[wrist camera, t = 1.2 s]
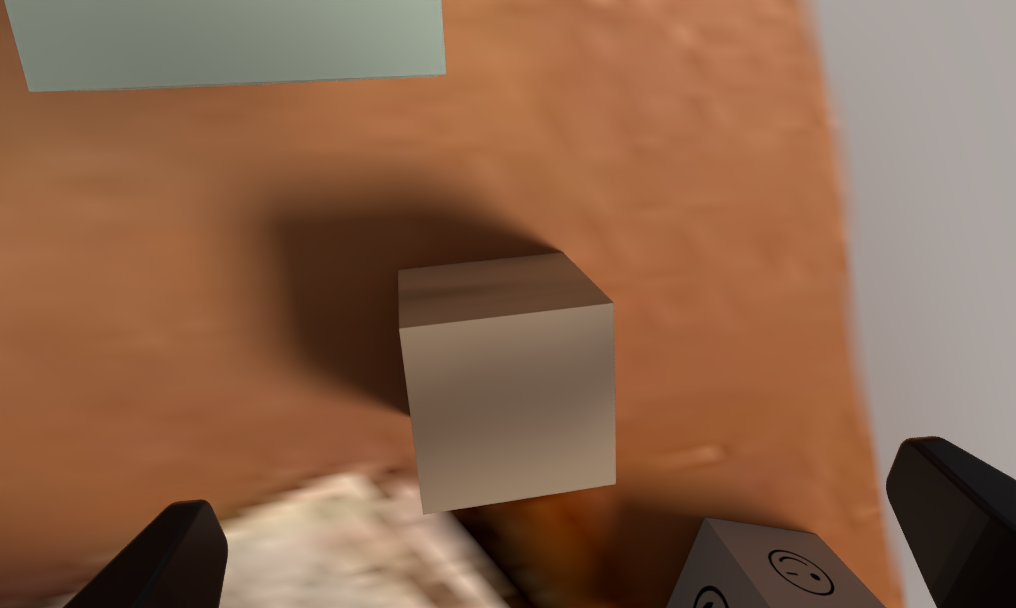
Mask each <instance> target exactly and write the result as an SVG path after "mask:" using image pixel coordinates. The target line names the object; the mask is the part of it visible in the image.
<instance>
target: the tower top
mask: <svg viewBox="0 0 1016 608" xmlns="http://www.w3.org/2000/svg"><path fill="white" fill-rule="evenodd" d="M4 2H5V5H6V9H7V13H8V16H9V20H10V24H11V27H12V31H13V35H14V38H15V42H16V46H17V49H18V53H19V57H20V60H21V64H22V68H23V71H24V75H25V79H26V82H27V86H28V90H29V92H57V91H106V90H144V89H167V88H190V87H213V86H236V85H259V84H282V83H305V82H328V81H351V80H374V79H397V78H420V77H435V76H440V75H444V74H446V65H445V50H444V36H443V21H442V7H441V0H4Z"/></svg>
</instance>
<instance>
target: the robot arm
mask: <svg viewBox="0 0 1016 608" xmlns="http://www.w3.org/2000/svg"><path fill="white" fill-rule="evenodd" d="M886 491H887V495H888V499H889V501H890V504H891V506H892V508H893V510H894V513H895V515H896V517H897V520H898V522H899V524H900V526H901V529H902V531H903V533H904V535H905V538H906V540H907V542H908V544H909V547H910V549H911V551H912V553H913V556H914V558H915V560H916V562H917V565H918V567H919V569H920V572H921V574H922V576H923V578H924V581H925V583H926V585H927V587H928V589H929V592H930V594H931V596H932V598H933V600H934V602H935V604H936V607H937V608H1016V480H1015V479H1013V478H1012V477H1010V476H1008V475H1006V474H1005V473H1003V472H1001V471H999V470H998V469H996V468H994V467H992V466H991V465H989V464H987V463H985V462H984V461H982V460H980V459H978V458H977V457H975V456H973V455H972V454H970V453H968V452H966V451H965V450H963V449H961V448H959V447H958V446H956V445H954V444H952V443H950V442H949V441H947V440H945V439H943V438H940V437H936V436H928V437H917V438H909V439H906V440H905V441H904V442H903V443H901V445H900V447H899V450H898V452H897V455H896V458H895V460H894V462H893V465H892V467H891V470H890V472H889V475H888V477H887V481H886ZM227 558H228V544H227V540H226V537H225V535H224V532H223V530H222V528H221V526H220V524H219V522H218V519H217V517H216V515H215V513H214V511H213V509H212V507H211V505H210V503H208V502H207V501H206V500H189V501H179V502H175V503H172V504H171V505H169V506H168V507H166V508H165V509H164V510H163V511H162V512H161V513H160V514H159V515H158V516H157V517H156V518H155V519H154V520H153V521H152V522H151V523H150V524H149V525H148V526H147V527H146V528H145V529H144V530H142V531H141V532H140V533H139V534H138V535H137V536H136V537H135V538H134V539H133V540H132V541H131V542H130V543H129V544H128V545H127V546H126V547H125V548H124V549H123V550H122V551H121V552H120V553H119V554H118V555H117V556H116V557H115V558H114V559H112V560H111V561H110V562H109V563H108V564H107V565H106V566H105V567H104V568H103V569H102V570H101V571H100V572H99V573H98V574H97V575H96V576H95V577H94V578H93V579H92V580H91V581H90V582H89V583H88V584H87V585H86V586H85V587H83V588H82V589H81V590H80V591H79V592H78V593H77V594H76V595H75V596H74V597H73V598H72V599H71V600H70V601H69V602H68V603H67V604H66V605H65V606H64V607H63V608H219V604H220V598H221V592H222V587H223V581H224V575H225V570H226V564H227Z"/></svg>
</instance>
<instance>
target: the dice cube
mask: <svg viewBox="0 0 1016 608" xmlns="http://www.w3.org/2000/svg"><path fill="white" fill-rule="evenodd" d="M666 608H886V607H885V606H884V605H883V604H882V603H881V602H880V601H879V600H878V598H877V597H876V596H875V595H874V594H873V593H872V592H871V591H870V590H869V589H868V588H867V587H866V586H865V585H864V584H863V583H862V582H861V580H860V579H859V578H858V577H857V576H856V575H855V574H854V573H853V572H852V571H851V570H850V569H849V568H848V567H847V566H846V565H845V564H844V563H843V561H842V560H841V559H840V558H839V557H838V556H837V555H836V554H835V553H834V552H833V551H832V550H831V549H830V548H829V547H828V546H827V545H826V543H825V542H824V541H823V540H822V539H821V538H820V537H819V536H818V535H817V534H811V533H805V532H798V531H792V530H785V529H779V528H773V527H766V526H760V525H753V524H747V523H740V522H734V521H727V520H721V519H714V518H708V517H705V518H704V521H703V523H702V525H701V528H700V530H699V532H698V535H697V537H696V539H695V542H694V544H693V546H692V549H691V551H690V553H689V556H688V558H687V560H686V563H685V565H684V567H683V570H682V572H681V574H680V577H679V579H678V581H677V584H676V586H675V588H674V591H673V593H672V595H671V598H670V600H669V602H668V605H667V607H666Z"/></svg>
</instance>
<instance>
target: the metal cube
mask: <svg viewBox="0 0 1016 608" xmlns="http://www.w3.org/2000/svg"><path fill="white" fill-rule="evenodd" d="M398 297H399V332H400V340H401V347H402V355H403V363H404V370H405V378H406V386H407V393H408V401H409V409H410V416H411V424H412V432H413V439H414V447H415V455H416V462H417V470H418V478H419V485H420V493H421V501H422V508H423V515H424V514H430V513H436V512H443V511H449V510H455V509H461V508H468V507H474V506H480V505H487V504H493V503H499V502H506V501H512V500H518V499H524V498H531V497H537V496H543V495H550V494H556V493H562V492H568V491H575V490H581V489H587V488H594V487H600V486H606V485H613V484H616V450H615V357H614V303H613V302H612V301H611V300H610V299H609V298H608V297H607V296H606V295H605V294H604V293H603V292H602V291H601V290H600V289H599V288H598V287H597V286H596V285H595V284H594V283H593V282H592V281H591V280H590V279H589V278H588V277H587V276H586V275H585V274H584V273H583V272H582V271H581V270H580V269H579V268H578V267H577V266H576V265H575V264H574V263H573V262H572V261H571V260H570V259H569V258H568V257H567V256H566V255H565V254H564V253H563V252H559V253H549V254H540V255H531V256H521V257H512V258H503V259H493V260H484V261H475V262H466V263H456V264H447V265H438V266H428V267H419V268H410V269H400V270H398Z"/></svg>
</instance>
